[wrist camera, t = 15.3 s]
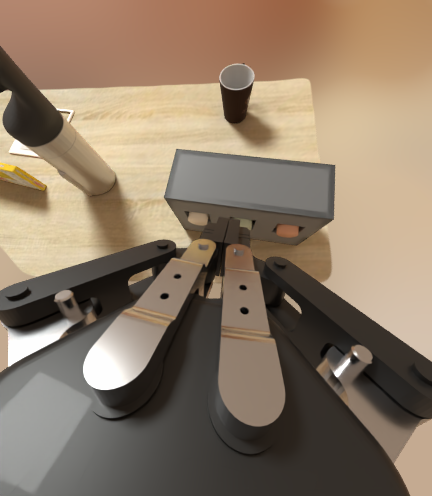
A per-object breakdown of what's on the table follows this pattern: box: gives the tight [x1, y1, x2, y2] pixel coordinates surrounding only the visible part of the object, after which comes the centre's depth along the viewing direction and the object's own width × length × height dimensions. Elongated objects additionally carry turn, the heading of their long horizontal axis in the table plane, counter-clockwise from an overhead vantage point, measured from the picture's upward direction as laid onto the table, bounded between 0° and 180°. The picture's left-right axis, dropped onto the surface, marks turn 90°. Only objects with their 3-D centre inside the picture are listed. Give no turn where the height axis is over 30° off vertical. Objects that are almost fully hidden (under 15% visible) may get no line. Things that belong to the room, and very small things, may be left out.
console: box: [164, 149, 335, 245], centre depth 39 cm, size 10×28×16 cm, turn 80°
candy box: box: [0, 163, 46, 191], centre depth 50 cm, size 16×2×8 cm, turn 74°
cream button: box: [188, 212, 209, 226], centre depth 39 cm, size 7×4×4 cm, turn 170°
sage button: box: [233, 217, 252, 230], centre depth 38 cm, size 7×4×4 cm, turn 170°
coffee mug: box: [219, 63, 254, 123], centre depth 51 cm, size 12×9×10 cm
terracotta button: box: [276, 224, 299, 238], centre depth 37 cm, size 7×4×4 cm, turn 170°
